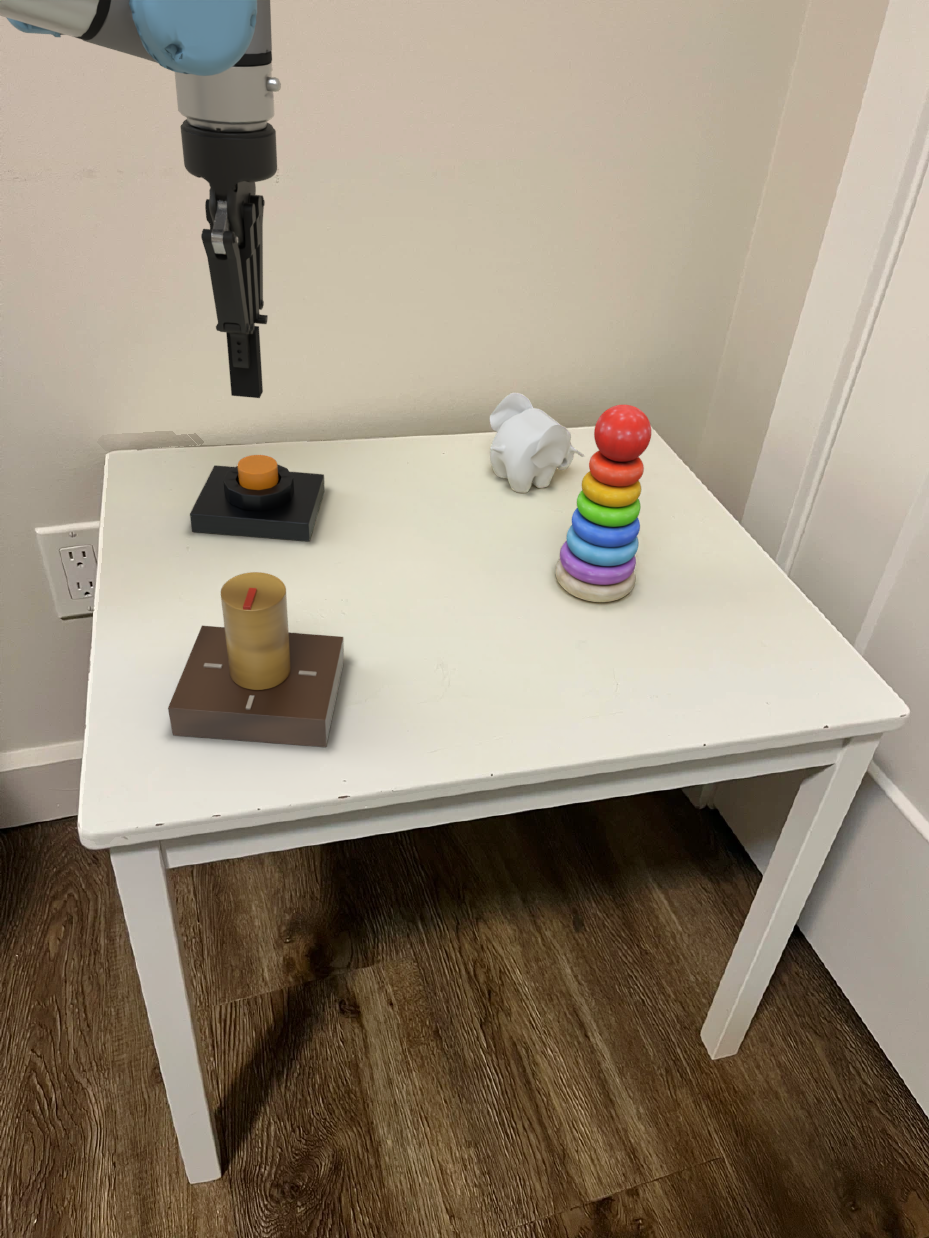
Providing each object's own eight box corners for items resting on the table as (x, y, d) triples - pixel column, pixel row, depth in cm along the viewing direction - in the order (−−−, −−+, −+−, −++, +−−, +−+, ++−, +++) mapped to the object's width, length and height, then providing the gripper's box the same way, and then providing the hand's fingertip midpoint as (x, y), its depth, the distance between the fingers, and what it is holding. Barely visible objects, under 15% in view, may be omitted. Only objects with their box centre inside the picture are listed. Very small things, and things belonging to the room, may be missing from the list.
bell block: (191, 532, 93) (187, 498, 90) (216, 482, 101) (212, 450, 98) (309, 541, 93) (308, 508, 91) (324, 491, 101) (323, 459, 98)
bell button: (235, 489, 93) (233, 472, 92) (243, 470, 96) (242, 452, 95) (274, 492, 93) (273, 475, 92) (281, 473, 96) (280, 456, 95)
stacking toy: (649, 591, 91) (693, 419, 79) (589, 615, 87) (625, 439, 75) (597, 551, 96) (631, 384, 84) (538, 572, 92) (565, 400, 80)
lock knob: (236, 648, 75) (228, 566, 70) (295, 652, 75) (290, 571, 70) (223, 688, 71) (213, 604, 66) (284, 692, 71) (279, 609, 66)
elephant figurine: (595, 486, 106) (608, 416, 101) (508, 507, 101) (517, 435, 96) (549, 449, 113) (559, 381, 107) (465, 467, 107) (471, 397, 102)
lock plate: (172, 735, 71) (167, 706, 69) (205, 651, 79) (201, 623, 77) (326, 747, 71) (325, 718, 69) (343, 662, 79) (343, 635, 77)
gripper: (257, 142, 68) (272, 427, 83) (289, 110, 79) (298, 370, 93) (157, 132, 68) (190, 420, 83) (202, 102, 79) (224, 363, 93)
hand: (247, 393), depth 88 cm, fingers closed
